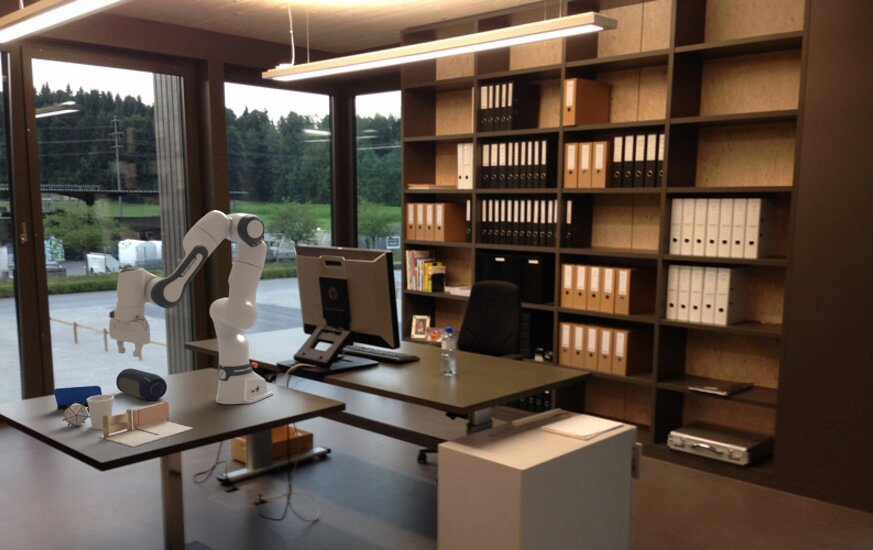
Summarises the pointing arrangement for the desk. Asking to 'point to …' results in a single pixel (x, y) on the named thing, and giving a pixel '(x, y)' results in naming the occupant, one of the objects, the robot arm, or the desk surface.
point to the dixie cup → (99, 409)
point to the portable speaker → (141, 384)
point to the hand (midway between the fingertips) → (129, 354)
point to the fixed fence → (117, 423)
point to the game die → (76, 414)
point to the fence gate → (150, 414)
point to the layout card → (146, 433)
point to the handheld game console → (75, 395)
